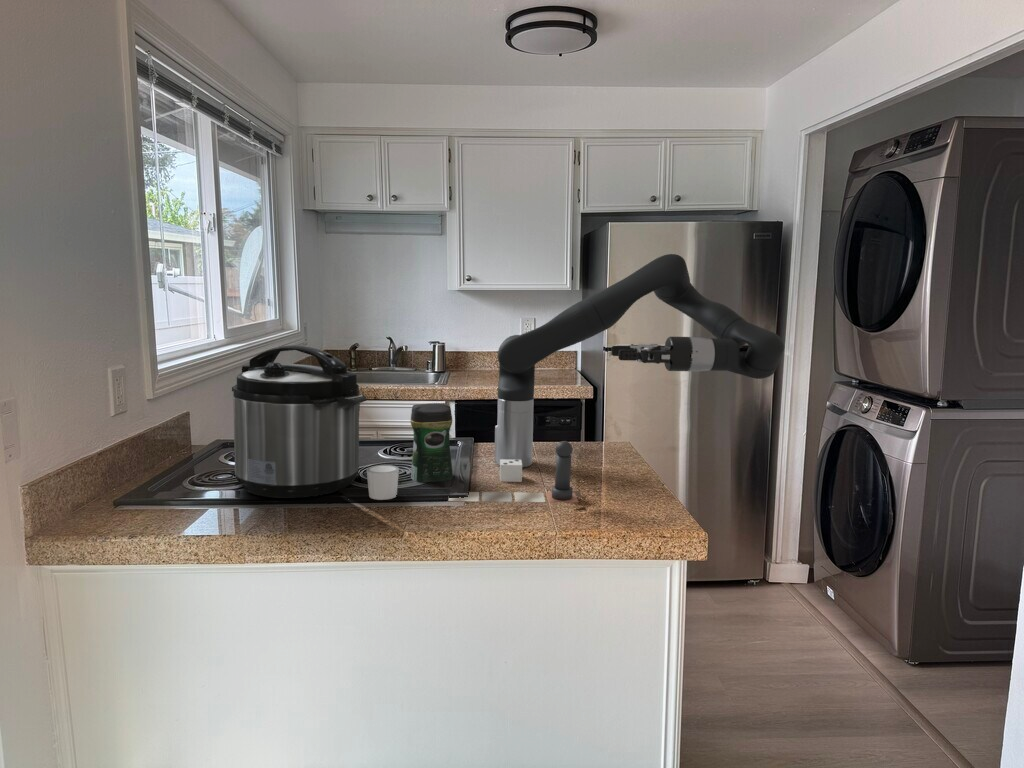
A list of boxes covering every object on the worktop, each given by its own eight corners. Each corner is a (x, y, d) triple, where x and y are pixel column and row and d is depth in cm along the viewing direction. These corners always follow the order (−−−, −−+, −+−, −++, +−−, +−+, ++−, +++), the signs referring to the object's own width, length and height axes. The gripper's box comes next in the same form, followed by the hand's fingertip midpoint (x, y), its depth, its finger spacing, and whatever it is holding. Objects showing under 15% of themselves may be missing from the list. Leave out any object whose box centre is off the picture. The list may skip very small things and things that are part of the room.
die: (500, 485, 160) (500, 464, 159) (499, 479, 165) (500, 458, 164) (521, 486, 160) (522, 464, 159) (520, 479, 165) (521, 459, 164)
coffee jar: (447, 475, 168) (448, 399, 165) (455, 484, 160) (456, 405, 157) (407, 478, 164) (407, 401, 162) (414, 487, 157) (414, 407, 154)
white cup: (405, 498, 149) (405, 466, 148) (387, 507, 143) (386, 474, 142) (379, 493, 152) (379, 462, 151) (360, 502, 146) (359, 470, 145)
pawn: (547, 495, 149) (549, 440, 147) (563, 492, 152) (566, 437, 149) (560, 501, 146) (562, 444, 143) (576, 498, 148) (579, 442, 146)
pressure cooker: (386, 490, 154) (385, 349, 150) (256, 512, 138) (250, 355, 133) (337, 460, 179) (335, 338, 174) (221, 476, 162) (215, 342, 158)
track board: (441, 508, 143) (441, 503, 143) (444, 494, 153) (444, 489, 153) (585, 510, 144) (585, 505, 144) (579, 495, 154) (579, 490, 154)
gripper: (680, 334, 157) (609, 333, 156) (700, 339, 143) (622, 338, 142) (679, 367, 158) (608, 366, 157) (697, 375, 144) (620, 374, 143)
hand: (615, 352), depth 150 cm, fingers open, 8 cm apart
